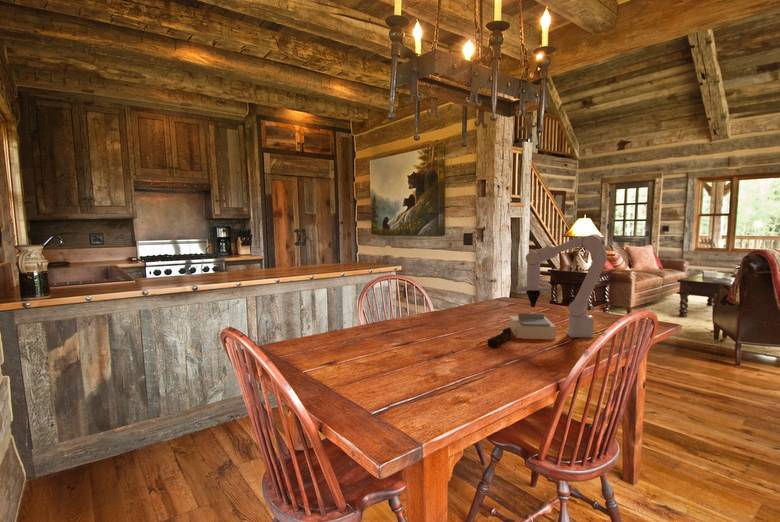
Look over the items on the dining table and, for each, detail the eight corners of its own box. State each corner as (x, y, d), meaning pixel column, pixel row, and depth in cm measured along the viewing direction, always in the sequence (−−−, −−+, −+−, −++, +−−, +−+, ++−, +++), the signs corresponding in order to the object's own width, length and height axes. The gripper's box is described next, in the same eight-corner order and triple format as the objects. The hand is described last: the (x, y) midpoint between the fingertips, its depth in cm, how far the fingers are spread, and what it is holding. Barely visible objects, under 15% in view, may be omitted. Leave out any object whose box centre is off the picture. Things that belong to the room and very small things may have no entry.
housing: (544, 327, 186) (545, 316, 185) (555, 339, 168) (555, 326, 168) (509, 327, 188) (509, 315, 187) (516, 338, 170) (516, 325, 170)
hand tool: (496, 349, 157) (496, 338, 156) (487, 347, 159) (487, 336, 159) (516, 338, 171) (517, 328, 170) (508, 337, 174) (508, 326, 173)
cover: (543, 319, 178) (543, 313, 178) (550, 326, 167) (550, 319, 167) (518, 319, 180) (518, 313, 179) (523, 325, 169) (523, 319, 168)
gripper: (519, 278, 179) (518, 308, 180) (552, 278, 178) (551, 308, 179) (515, 276, 186) (515, 305, 187) (547, 276, 185) (547, 305, 186)
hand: (532, 306), depth 184 cm, fingers closed
